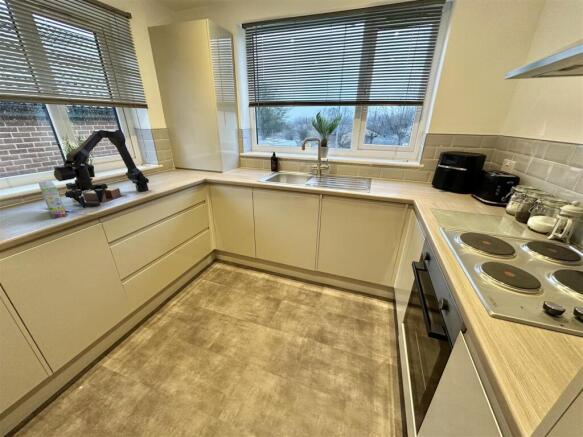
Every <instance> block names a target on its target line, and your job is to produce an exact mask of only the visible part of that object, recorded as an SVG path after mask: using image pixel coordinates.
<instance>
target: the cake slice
mask: <svg viewBox="0 0 583 437" xmlns="http://www.w3.org/2000/svg"><path fill="white" fill-rule="evenodd" d="M82 196H84V199H85V200H86V201H99V200H98V197H97V194H96V193H95V192H94V191H89V192H86V193H82ZM105 200H106V196H105V193H104V196H103V200H102V201H105Z"/></svg>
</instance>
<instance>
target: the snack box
mask: <svg viewBox="0 0 583 437" xmlns="http://www.w3.org/2000/svg"><path fill="white" fill-rule="evenodd" d="M38 185H39V188H40V189H39V190H40V191H41V194H42V197H43V199H44V201H45V204H46V207H47V209H48V210H49V213H50V215H51V217H52V218H53V219H56V218H57V219H59V218H62V217H67V212H66V209H65V207H64V204H63V201H62V198H61V195H60V193H59V191H58V187H57V186H56V184H55V183H54V182H53V181H52V180H48V181H40V182H39V181H38Z"/></svg>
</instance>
